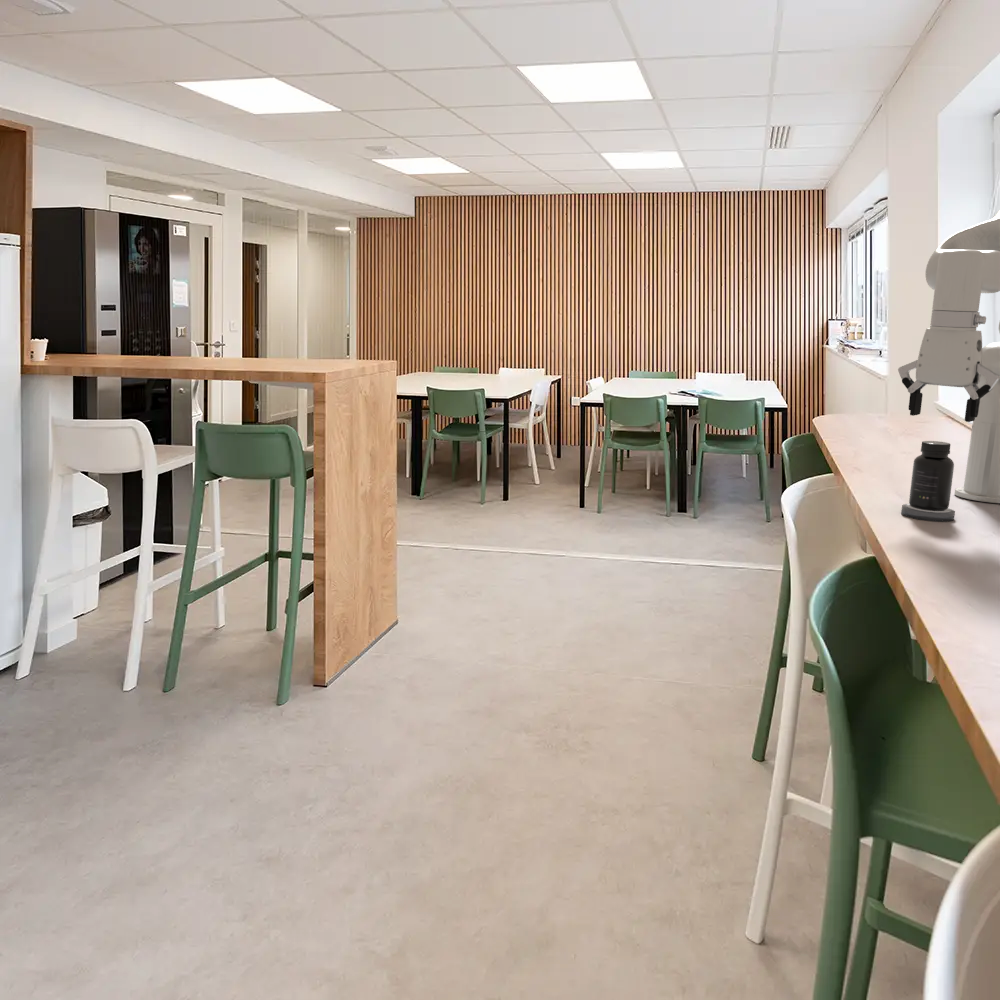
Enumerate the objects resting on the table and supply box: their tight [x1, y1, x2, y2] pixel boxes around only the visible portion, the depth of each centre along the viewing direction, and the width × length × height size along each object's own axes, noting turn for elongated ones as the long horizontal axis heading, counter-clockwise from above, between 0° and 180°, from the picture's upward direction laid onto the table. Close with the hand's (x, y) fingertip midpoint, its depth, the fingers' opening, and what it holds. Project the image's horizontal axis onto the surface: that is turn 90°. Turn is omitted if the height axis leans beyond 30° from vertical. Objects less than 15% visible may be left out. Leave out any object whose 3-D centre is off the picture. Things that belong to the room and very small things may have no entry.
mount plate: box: [900, 503, 956, 523], centre depth 186 cm, size 9×9×2 cm
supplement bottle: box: [908, 440, 955, 511], centre depth 184 cm, size 7×7×12 cm
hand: (941, 418), depth 183 cm, fingers open, 9 cm apart
